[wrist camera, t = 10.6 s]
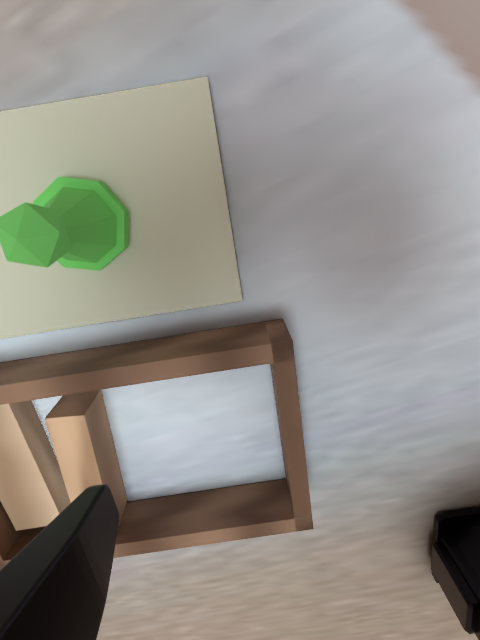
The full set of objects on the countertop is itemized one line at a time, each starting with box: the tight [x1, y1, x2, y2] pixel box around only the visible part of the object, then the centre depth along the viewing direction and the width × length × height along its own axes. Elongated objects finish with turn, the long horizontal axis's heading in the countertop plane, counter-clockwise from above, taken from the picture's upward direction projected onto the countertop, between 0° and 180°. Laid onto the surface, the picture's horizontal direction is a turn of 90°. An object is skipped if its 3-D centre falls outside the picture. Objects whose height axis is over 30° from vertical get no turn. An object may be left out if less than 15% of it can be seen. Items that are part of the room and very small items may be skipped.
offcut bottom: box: [0, 400, 71, 531], centre depth 21 cm, size 3×9×2 cm, turn 10°
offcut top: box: [45, 389, 127, 529], centre depth 21 cm, size 3×8×2 cm
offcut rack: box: [0, 319, 313, 570], centre depth 20 cm, size 19×12×3 cm, turn 99°
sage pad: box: [0, 76, 243, 339], centre depth 17 cm, size 14×10×1 cm
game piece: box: [0, 177, 129, 271], centre depth 14 cm, size 4×4×6 cm
